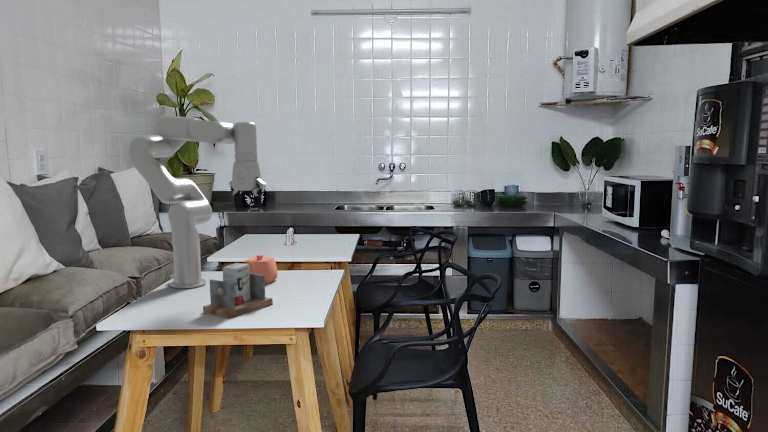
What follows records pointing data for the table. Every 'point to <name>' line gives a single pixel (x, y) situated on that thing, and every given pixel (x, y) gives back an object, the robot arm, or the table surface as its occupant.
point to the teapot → (263, 267)
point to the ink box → (238, 281)
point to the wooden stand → (225, 298)
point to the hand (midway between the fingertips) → (247, 206)
